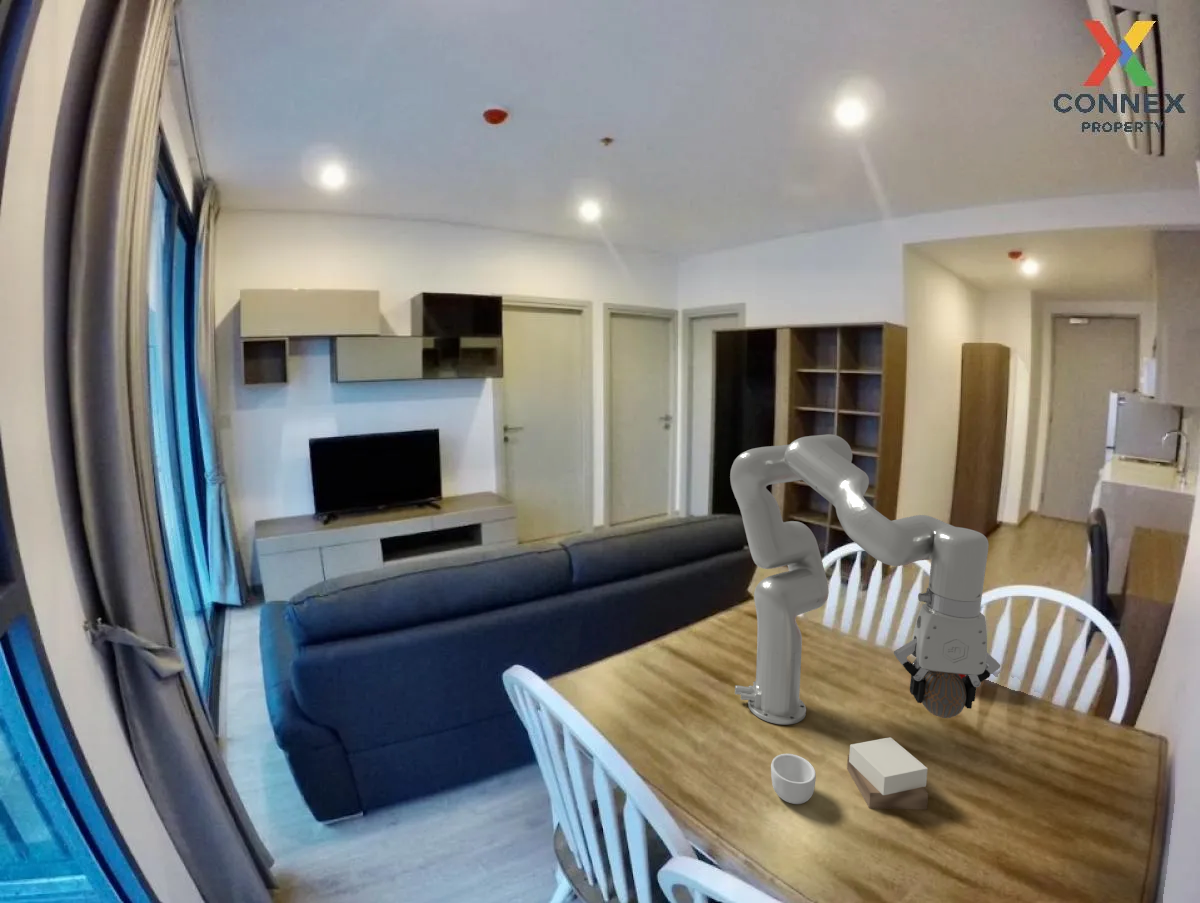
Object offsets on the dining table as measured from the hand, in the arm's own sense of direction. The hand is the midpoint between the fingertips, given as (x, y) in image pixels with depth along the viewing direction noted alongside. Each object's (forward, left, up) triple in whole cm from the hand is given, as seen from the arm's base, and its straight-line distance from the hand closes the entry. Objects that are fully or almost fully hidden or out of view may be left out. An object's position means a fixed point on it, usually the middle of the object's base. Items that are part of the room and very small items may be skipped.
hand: (940, 700), depth 98 cm
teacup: (-24, 0, -21) cm, 32 cm away
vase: (0, 0, -2) cm, 2 cm away
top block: (-6, +4, -18) cm, 19 cm away
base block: (-6, +4, -21) cm, 23 cm away
